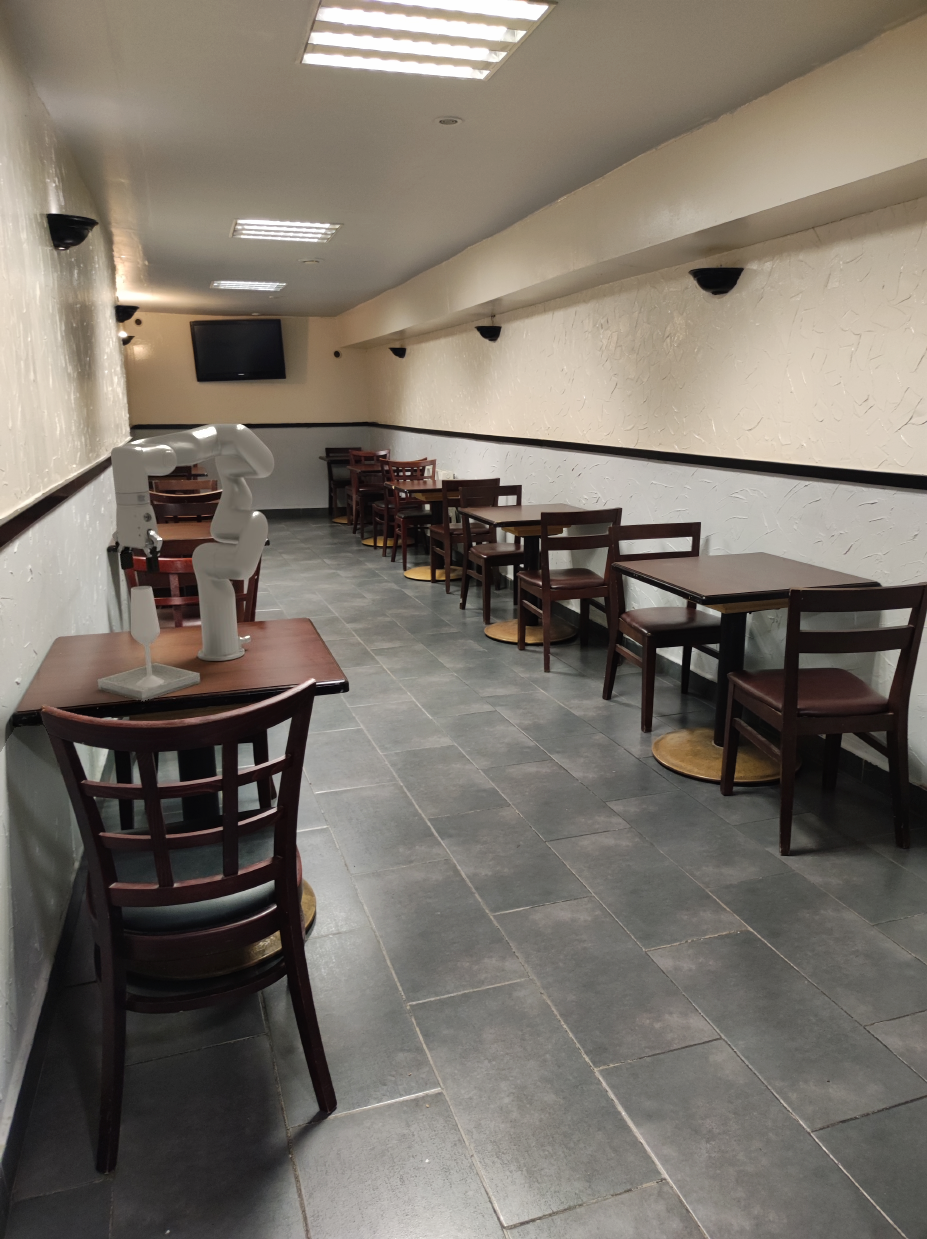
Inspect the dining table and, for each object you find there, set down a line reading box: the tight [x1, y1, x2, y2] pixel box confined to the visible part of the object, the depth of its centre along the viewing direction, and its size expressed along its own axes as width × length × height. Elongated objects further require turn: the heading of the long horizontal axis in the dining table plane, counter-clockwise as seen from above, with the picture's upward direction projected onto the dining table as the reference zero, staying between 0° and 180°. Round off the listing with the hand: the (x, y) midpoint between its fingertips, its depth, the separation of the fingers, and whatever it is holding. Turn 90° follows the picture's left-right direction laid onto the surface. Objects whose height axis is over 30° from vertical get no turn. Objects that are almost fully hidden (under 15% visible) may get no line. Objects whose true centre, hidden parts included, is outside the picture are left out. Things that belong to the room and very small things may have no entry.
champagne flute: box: [130, 585, 164, 687], centre depth 208 cm, size 7×7×24 cm
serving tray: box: [97, 662, 201, 702], centre depth 211 cm, size 17×17×2 cm
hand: (140, 570), depth 204 cm, fingers open, 9 cm apart
